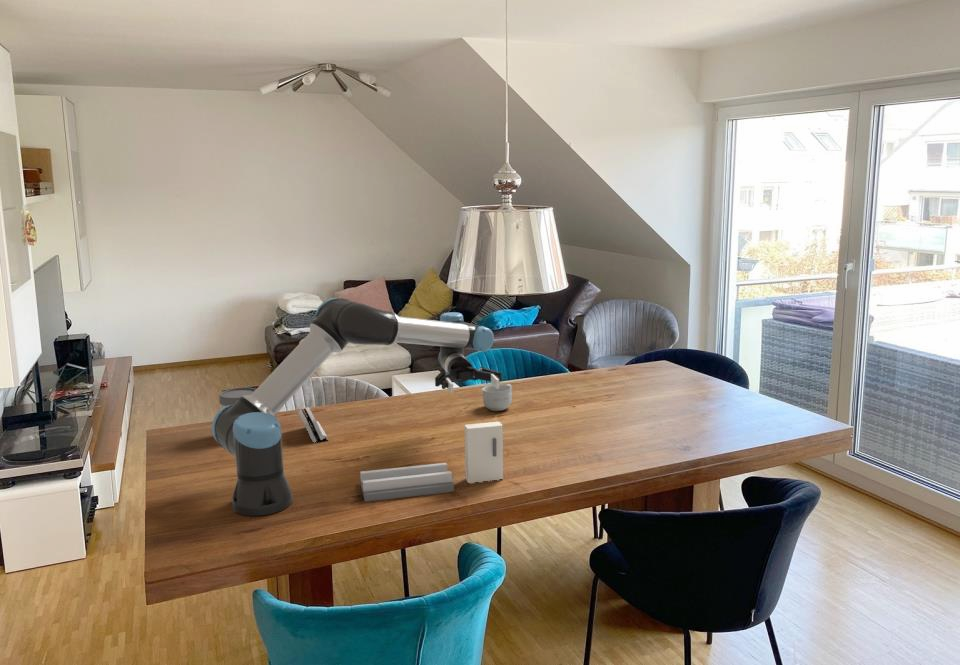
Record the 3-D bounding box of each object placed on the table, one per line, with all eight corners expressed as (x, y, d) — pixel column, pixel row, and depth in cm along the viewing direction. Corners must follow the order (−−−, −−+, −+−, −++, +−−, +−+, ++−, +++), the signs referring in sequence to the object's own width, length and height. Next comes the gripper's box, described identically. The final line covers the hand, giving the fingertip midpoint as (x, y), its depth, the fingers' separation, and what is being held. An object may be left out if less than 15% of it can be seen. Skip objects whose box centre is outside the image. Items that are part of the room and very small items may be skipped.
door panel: (469, 484, 212) (468, 429, 208) (465, 478, 216) (464, 424, 212) (503, 480, 214) (503, 426, 211) (499, 475, 218) (499, 421, 215)
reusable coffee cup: (221, 444, 245) (217, 399, 242) (223, 432, 257) (219, 389, 254) (262, 440, 249) (259, 396, 246) (261, 428, 260) (258, 385, 257)
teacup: (495, 415, 271) (495, 393, 270) (476, 408, 279) (475, 387, 278) (524, 407, 280) (524, 386, 278) (504, 400, 288) (504, 380, 286)
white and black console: (329, 441, 247) (317, 414, 244) (315, 447, 246) (303, 421, 243) (320, 425, 262) (308, 400, 259) (307, 431, 261) (295, 406, 258)
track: (364, 501, 202) (364, 485, 201) (360, 484, 213) (359, 468, 212) (453, 491, 207) (453, 476, 206) (444, 474, 219) (444, 460, 218)
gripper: (497, 376, 243) (516, 395, 223) (419, 382, 238) (432, 402, 217) (497, 353, 242) (516, 370, 222) (419, 359, 236) (431, 377, 216)
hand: (475, 386), depth 220 cm, fingers open, 13 cm apart
